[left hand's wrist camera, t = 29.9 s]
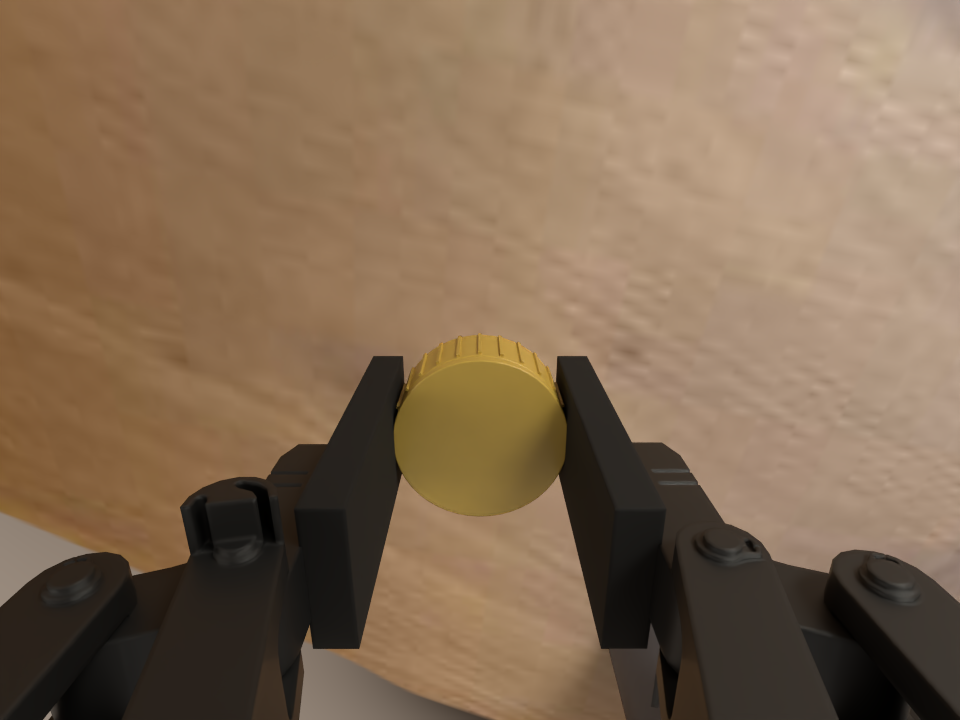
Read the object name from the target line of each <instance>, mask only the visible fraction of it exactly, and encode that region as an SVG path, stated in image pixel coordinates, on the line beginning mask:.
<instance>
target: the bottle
mask: <svg viewBox="0 0 960 720" xmlns="http://www.w3.org/2000/svg"><path fill="white" fill-rule="evenodd" d="M659 648H660V646H659V643H658V641H657V638H656V635H655V632H654V629H653V627H652V624H651V625H650V632H649V639H648V647H647V649H609V653H610V657H611V661H612V664H613V668H614V672H615V676H616V680H617V684H618V688H619V692H620V696H621V700H622V704H623V708H624V712H625V716H626V720H661V713H660V704H659V706H658V708H655V707H651V702H652V695H653V688H654V681H655V675H656V668H657V661H658V655H659Z"/></svg>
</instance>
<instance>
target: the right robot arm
mask: <svg viewBox="0 0 960 720" xmlns="http://www.w3.org/2000/svg"><path fill="white" fill-rule="evenodd" d="M909 714H910V715H911V716H912V717H913V719H914V720H921V719H920V718H919V717H918V716H917V714H916V713H915V712H914V711H913V709H912V708H911V709H910V712H909Z"/></svg>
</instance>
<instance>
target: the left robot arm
mask: <svg viewBox="0 0 960 720" xmlns="http://www.w3.org/2000/svg"><path fill="white" fill-rule="evenodd" d="M556 382H557V385H558V388H559V391H560V394H561V397H562V400H563V403H564V406H565V407H563V411H564V414H565V418H566V421H567V434H566V450H565V461H564V464H563V466H562V468H561V471H560V473H559V478H560V482H561V486H562V490H563V494H564V498H565V502H566V506H567V510H568V515H569V519H570V523H571V527H572V531H573V535H574V539H575V543H576V547H577V552H578V556H579V560H580V564H581V568H582V572H583V576H584V580H585V584H586V589H587V593H588V597H589V601H590V605H591V609H592V613H593V617H594V621H595V625H596V630H597V634H598V638H599V642H600V646H601V649H647V647H648V639H649V632H650V625H651V624H652V627H653V629H654V632H655V635H656V638H657V641H658V643H659V646H660V648H659V655H658V661H657V668H656V675H655V681H654V688H653V695H652V702H651V707H655V708H658V706H659V704H660V713H661V720H914V719H913V717H912V716H911V715H910V714H909V712H910V709H911V708H912V709H913V711H914V712H915V713H916V714H917V716H918V717H919V718H920V719H921V720H960V603H959V602H958V601H957V600H955V599H954V598H953V597H952V596H951V595H950V594H949V593H948V592H947V591H945V590H944V589H943V588H942V587H941V586H940V585H939V584H938V583H937V582H935V581H934V580H933V579H931V578H930V577H929V576H927V575H926V574H924V573H923V572H922V571H920V570H919V569H918V568H916V567H914V566H912V565H910V564H908V563H905V562H903V561H901V560H899V559H897V558H895V557H892V556H889V555H884V554H882V553H878V552H874V551H863V550H851V551H846V552H841V553H840V554H838V555H837V556H836V557H835V558H834V559H833V560H832V564H831V568H830V571H829V574H828V573H824V572H819V571H814V570H810V569H805V568H800V567H796V566H791V565H787V564H783V563H780V562H776V561H773V560H772V559H771V556H770V554H769V553H768V551H767V550H766V548H765V547H764V546H763V544H762V543H761V542H760V541H759V540H757V539H756V538H755V537H753V536H752V535H751V534H749V533H748V532H746V531H743V530H741V529H739V528H737V527H734V526H732V525H729V524H725V523H724V521H723V520H722V518H721V517H720V515H719V514H718V512H717V511H716V509H715V508H714V506H713V504H712V503H711V501H710V500H709V498H708V497H707V495H706V494H705V492H704V491H703V489H702V488H701V486H700V485H698V482H697V480H696V479H695V477H694V476H693V474H692V473H690V470H689V468H688V467H687V465H686V464H685V462H684V461H683V459H682V458H681V456H680V455H679V454H678V453H676V452H675V451H673V450H672V449H670V448H669V447H667V446H666V445H665V444H663V443H632V442H631V440H630V438H629V436H628V434H627V432H626V430H625V428H624V427H623V425H622V423H621V421H620V419H619V417H618V415H617V413H616V411H615V409H614V407H613V405H612V404H611V402H610V400H609V398H608V396H607V394H606V392H605V390H604V388H603V386H602V384H601V383H600V381H599V379H598V377H597V375H596V373H595V371H594V369H593V367H592V365H591V363H590V361H589V360H588V358H587V356H557V374H556ZM403 385H404V368H403V356H373V358H372V360H371V362H370V364H369V366H368V368H367V370H366V372H365V374H364V376H363V377H362V379H361V381H360V383H359V385H358V387H357V389H356V391H355V393H354V395H353V397H352V398H351V400H350V402H349V404H348V406H347V408H346V410H345V412H344V414H343V416H342V418H341V420H340V421H339V423H338V425H337V427H336V429H335V431H334V433H333V435H332V437H331V439H330V441H329V443H328V444H299V445H297V446H296V447H294V448H293V449H291V450H290V451H289V452H287V453H286V454H284V455H283V456H281V457H280V459H279V460H278V462H277V463H276V465H275V466H274V468H273V469H272V471H271V475H269V476H268V477H267V479H266V480H265V479H261V478H257V477H237V478H232V479H227V480H222V481H218V482H216V483H213V484H211V485H208V486H206V487H203V488H202V489H200V490H198V491H197V492H195V493H194V494H192V495H191V496H189V497H188V498H187V500H186V501H185V502H184V503H183V504H182V505H181V507H180V509H181V514H182V518H183V523H184V527H185V532H186V536H187V540H188V545H189V549H190V554H191V555H190V557H189V560H188V562H187V563H185V564H182V565H178V566H175V567H171V568H166V569H162V570H157V571H152V572H148V573H143V574H138V575H134V576H132V574H131V570H130V566H129V562H128V561H127V560H126V559H124V558H123V557H122V556H121V555H119V554H113V553H108V552H102V553H91V554H85V555H81V556H77V557H73V558H70V559H68V560H65V561H63V562H61V563H59V564H57V565H55V566H53V567H51V568H48V569H46V570H44V571H43V572H42V573H40V574H39V575H38V576H36V577H35V578H33V579H32V580H31V581H29V582H28V583H27V584H25V585H24V586H23V587H22V588H21V589H20V590H19V591H18V592H17V593H15V594H14V595H13V596H12V597H11V598H10V599H9V600H8V601H7V602H6V603H4V604H3V605H2V606H1V607H0V720H43V719H44V718H45V716H46V715H47V714H48V713H49V712H50V711H51V713H52V716H51V717H50V719H49V720H299V714H300V705H301V695H302V686H303V677H304V669H303V661H302V655H301V647H302V644H303V642H304V639H305V636H306V633H307V630H308V628H309V625H310V630H311V637H312V644H313V649H359V647H360V643H361V639H362V635H363V631H364V627H365V623H366V619H367V615H368V610H369V606H370V602H371V598H372V594H373V590H374V586H375V582H376V578H377V573H378V569H379V565H380V561H381V557H382V553H383V549H384V545H385V541H386V536H387V532H388V528H389V524H390V520H391V516H392V512H393V508H394V504H395V500H396V495H397V491H398V487H399V483H400V479H401V475H402V472H401V470H400V468H399V466H398V463H397V461H396V457H395V445H394V422H395V418H396V415H397V412H398V409H397V408H396V406H397V403H398V400H399V397H400V394H401V391H402V388H403Z"/></svg>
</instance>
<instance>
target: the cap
mask: <svg viewBox="0 0 960 720" xmlns="http://www.w3.org/2000/svg"><path fill="white" fill-rule="evenodd" d="M563 407H565V406H564V403H563V400H562V397H561V394H560V391H559V388H558V385H557V382H555V383H554V381H553V379H552V376H551V373H550V369H549V367H548V366H546V367H545V365H544V364H543V363H542V362H541V361H540V360H539V359H538V357H537V354H536V353H535V352H534V353H532V352H530V351H529V350H527V349H526V348H525V347H523V346H521V344H520V343H519V342H517V343H515V342H513V341H510V340H507V339H504V338H502V336H498V337H496V336H488V335H482V334H478V335H472V336H466V337H462V336H458V338H457V339H454V340H451V341H448V342H446V343H444V344H443V343H440V344H439V346H438V347H437V348H435V349H433V350H432V351H431V352H429V353H428V354H426V353H425V354H424V355H423V359H422V360H421V361H420V362H419V363H418V364H417V366H416V367H415V368H414V367H412V369H411V372H410V375H409V378H408V381H407V384H405V383H404V385H403V388H402V391H401V394H400V397H399V400H398V403H397V406H396V408H397V409H398V412H397V415H396V418H395V422H394V445H395V457H396V461H397V463H398V466H399V468H400V470H401V472H402V474H403V475H404V477H405V479H406V480H407V481H408V483H409V484H410V485H411V487H412V488H413V489H414V490H415V491H416V492H417V493H419V494H420V495H421V496H422V497H423V498H425V499H426V500H427V501H429V502H431V503H432V504H434V505H436V506H438V507H440V508H442V509H445V510H447V511H450V512H454V513H457V514H462V515H467V516H493V515H500V514H504V513H508V512H511V511H514V510H516V509H519V508H521V507H523V506H525V505H527V504H529V503H531V502H532V501H533V500H535V499H536V498H538V497H539V496H540V495H541V494H543V493H544V492H545V491H546V490H547V489H548V488H549V487H550V485H551V484H552V483H553V482H554V480H555V479H556V477H557V476H558V474H559V473H560V471H561V468H562V466H563V464H564V461H565V450H566V434H567V421H566V418H565V414H564V411H563Z"/></svg>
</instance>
